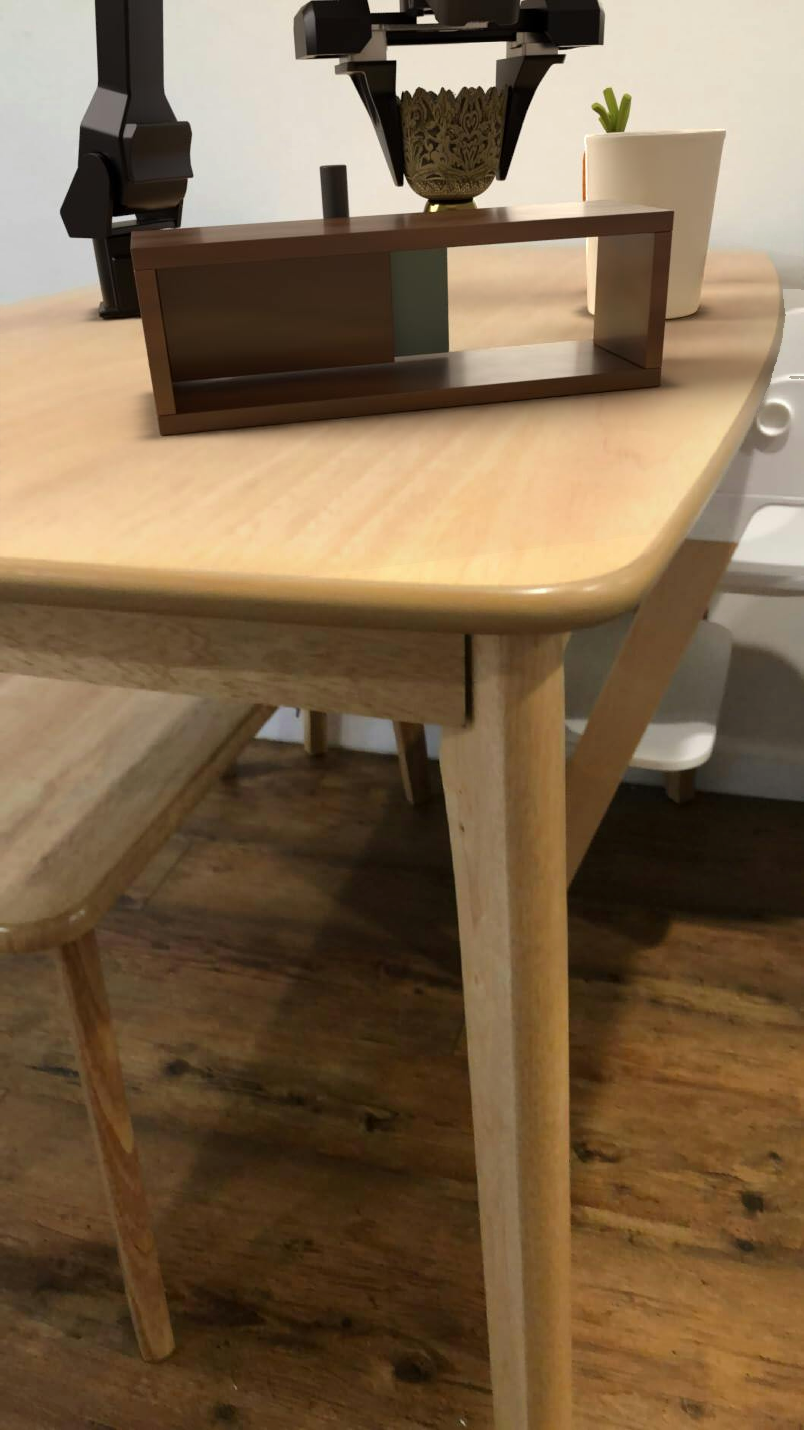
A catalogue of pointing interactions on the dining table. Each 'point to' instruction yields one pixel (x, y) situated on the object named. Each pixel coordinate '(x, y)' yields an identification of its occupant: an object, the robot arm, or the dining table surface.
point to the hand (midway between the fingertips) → (450, 183)
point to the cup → (451, 143)
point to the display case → (377, 315)
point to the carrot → (609, 120)
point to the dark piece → (403, 280)
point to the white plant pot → (660, 197)
